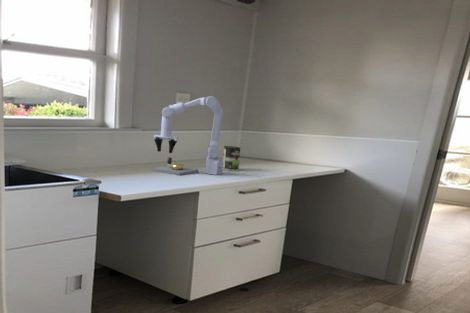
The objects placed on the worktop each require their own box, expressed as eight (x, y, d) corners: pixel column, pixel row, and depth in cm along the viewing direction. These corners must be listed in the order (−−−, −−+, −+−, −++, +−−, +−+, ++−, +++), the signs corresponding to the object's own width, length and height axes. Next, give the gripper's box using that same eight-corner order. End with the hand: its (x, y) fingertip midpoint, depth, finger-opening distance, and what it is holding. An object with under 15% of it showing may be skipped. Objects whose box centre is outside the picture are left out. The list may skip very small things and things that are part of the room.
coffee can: (242, 170, 286) (243, 147, 284) (229, 171, 279) (231, 148, 278) (231, 167, 294) (233, 145, 292) (218, 168, 287) (220, 145, 285)
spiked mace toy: (185, 169, 260) (185, 160, 260) (176, 169, 256) (176, 160, 255) (172, 166, 269) (173, 157, 269) (163, 166, 265) (163, 157, 264)
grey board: (198, 172, 264) (199, 169, 264) (179, 175, 249) (179, 172, 249) (173, 167, 274) (173, 165, 274) (153, 170, 259) (153, 167, 259)
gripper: (181, 129, 260) (179, 153, 262) (159, 127, 266) (157, 150, 267) (174, 129, 254) (172, 154, 255) (152, 127, 259) (151, 151, 261)
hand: (164, 152), depth 261 cm, fingers open, 7 cm apart
